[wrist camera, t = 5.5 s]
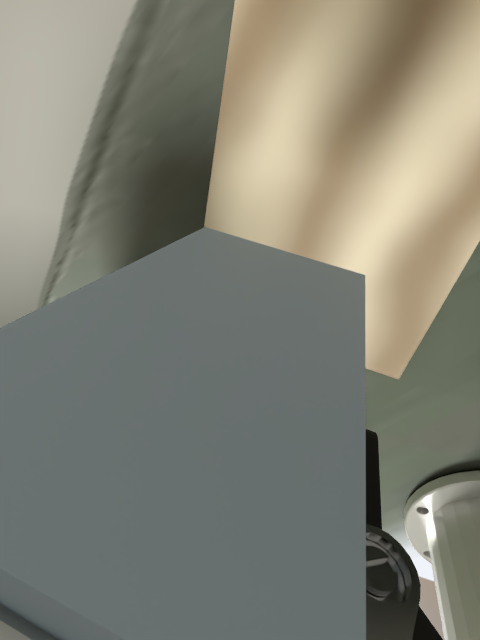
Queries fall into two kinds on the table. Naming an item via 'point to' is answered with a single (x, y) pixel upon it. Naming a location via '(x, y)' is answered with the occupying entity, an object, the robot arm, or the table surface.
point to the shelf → (356, 149)
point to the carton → (189, 450)
